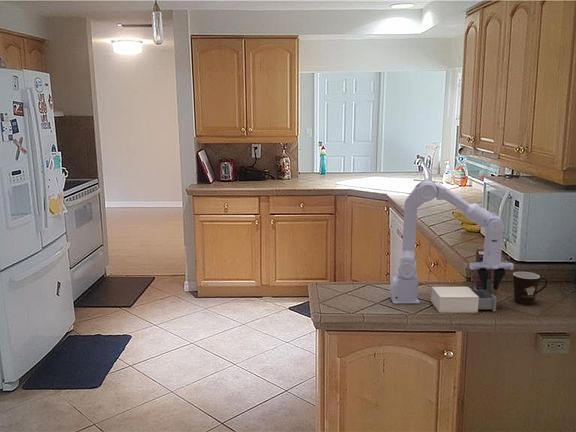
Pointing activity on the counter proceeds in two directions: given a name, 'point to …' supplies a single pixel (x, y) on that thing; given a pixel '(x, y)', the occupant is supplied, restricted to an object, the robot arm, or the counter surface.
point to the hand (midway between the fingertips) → (489, 289)
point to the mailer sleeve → (454, 299)
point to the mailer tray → (486, 297)
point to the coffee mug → (526, 287)
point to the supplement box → (477, 278)
